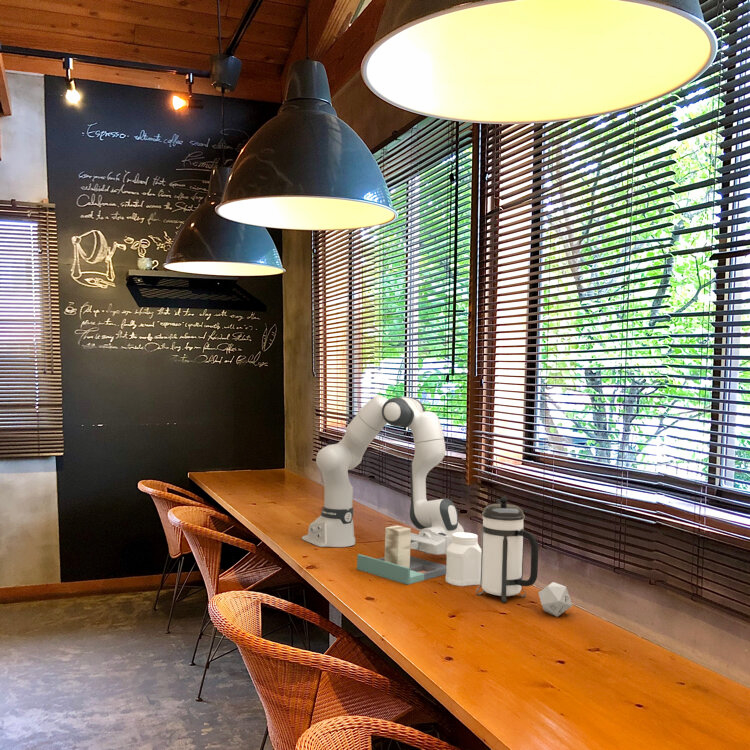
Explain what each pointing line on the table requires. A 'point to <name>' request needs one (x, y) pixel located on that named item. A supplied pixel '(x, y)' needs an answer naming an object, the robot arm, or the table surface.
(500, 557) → the coffee press
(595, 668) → the table surface
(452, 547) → the jar
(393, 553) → the maple block
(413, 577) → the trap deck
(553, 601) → the die
